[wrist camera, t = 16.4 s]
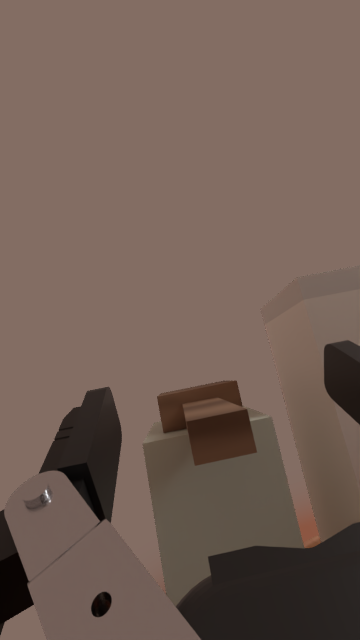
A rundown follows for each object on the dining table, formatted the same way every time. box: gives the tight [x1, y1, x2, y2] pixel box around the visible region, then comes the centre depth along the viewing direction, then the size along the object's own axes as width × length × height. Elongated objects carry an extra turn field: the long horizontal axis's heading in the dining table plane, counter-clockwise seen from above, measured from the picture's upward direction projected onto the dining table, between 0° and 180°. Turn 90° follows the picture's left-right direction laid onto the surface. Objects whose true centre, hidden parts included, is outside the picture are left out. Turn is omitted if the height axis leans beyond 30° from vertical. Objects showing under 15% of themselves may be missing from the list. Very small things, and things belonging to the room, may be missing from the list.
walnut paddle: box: [157, 381, 257, 466], centre depth 23 cm, size 18×7×3 cm, turn 1°
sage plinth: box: [143, 406, 304, 607], centre depth 25 cm, size 11×10×22 cm
